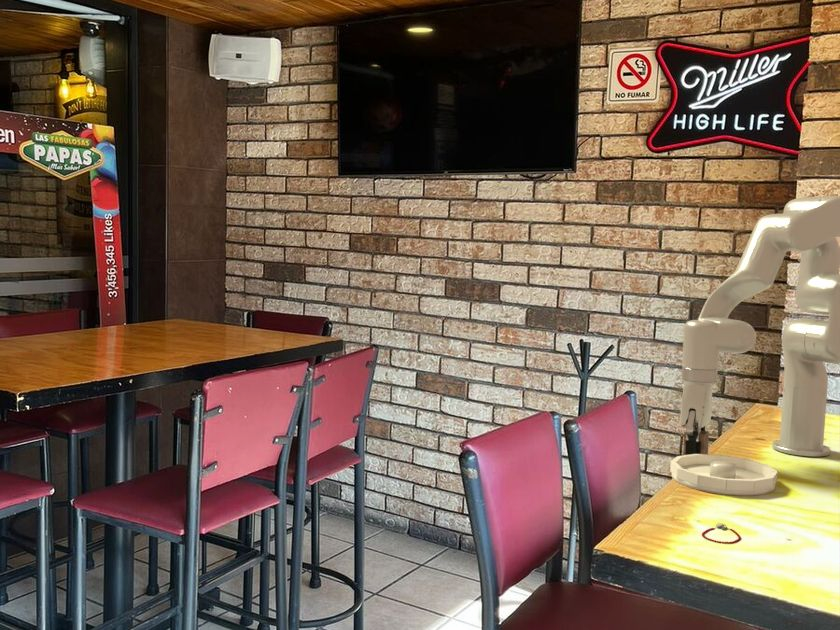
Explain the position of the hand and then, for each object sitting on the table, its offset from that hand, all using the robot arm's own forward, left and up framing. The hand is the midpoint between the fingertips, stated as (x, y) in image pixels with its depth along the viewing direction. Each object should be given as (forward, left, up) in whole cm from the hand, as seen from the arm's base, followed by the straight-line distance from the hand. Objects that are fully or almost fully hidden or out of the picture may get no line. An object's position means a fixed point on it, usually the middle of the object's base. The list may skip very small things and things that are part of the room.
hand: (695, 455), depth 189 cm
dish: (+14, +9, -1) cm, 17 cm away
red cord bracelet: (+48, +16, -2) cm, 51 cm away
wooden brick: (0, 0, -1) cm, 1 cm away
